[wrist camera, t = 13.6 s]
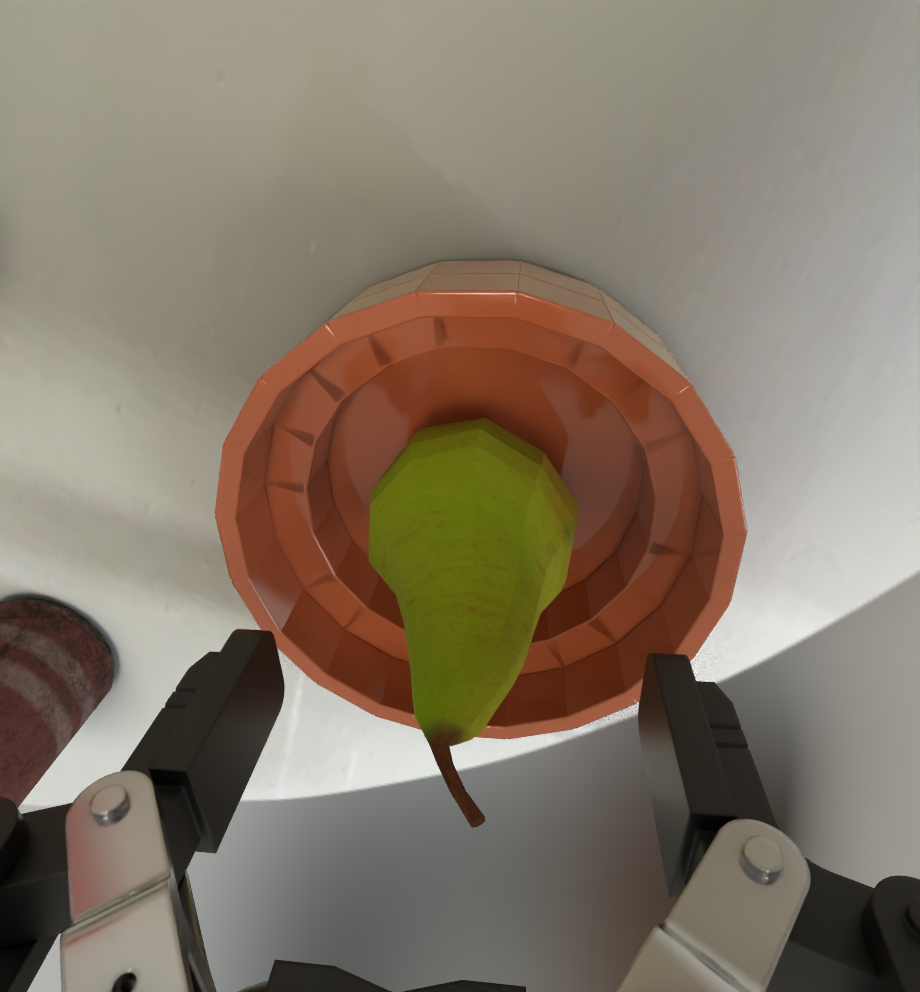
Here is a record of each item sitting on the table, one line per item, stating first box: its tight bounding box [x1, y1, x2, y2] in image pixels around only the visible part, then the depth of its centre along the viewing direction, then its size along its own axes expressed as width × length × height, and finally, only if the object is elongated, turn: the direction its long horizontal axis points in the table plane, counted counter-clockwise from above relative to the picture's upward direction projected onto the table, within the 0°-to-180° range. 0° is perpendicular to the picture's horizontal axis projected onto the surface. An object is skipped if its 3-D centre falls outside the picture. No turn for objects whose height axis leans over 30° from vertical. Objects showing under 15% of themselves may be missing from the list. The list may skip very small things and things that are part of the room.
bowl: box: [215, 260, 747, 739], centre depth 19 cm, size 14×14×5 cm
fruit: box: [368, 418, 578, 828], centre depth 16 cm, size 6×6×12 cm
